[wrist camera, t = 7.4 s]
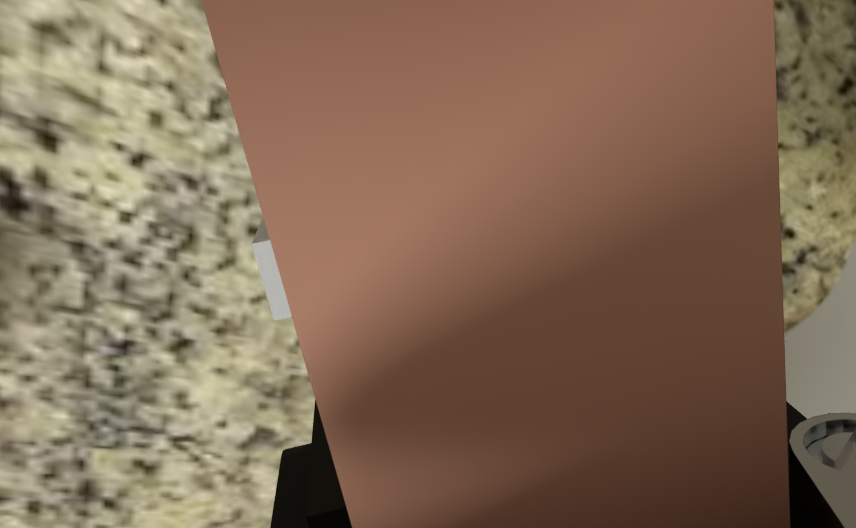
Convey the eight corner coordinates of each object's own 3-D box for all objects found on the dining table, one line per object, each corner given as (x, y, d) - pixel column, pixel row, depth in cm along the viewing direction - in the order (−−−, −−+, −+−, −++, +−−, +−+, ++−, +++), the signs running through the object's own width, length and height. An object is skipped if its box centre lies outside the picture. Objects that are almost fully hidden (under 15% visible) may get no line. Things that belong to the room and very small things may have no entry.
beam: (190, -338, 9) (-70, -953, 3) (496, -396, 9) (739, -1073, 4) (482, 817, 16) (555, 1238, 11) (650, 774, 16) (809, 1165, 11)
